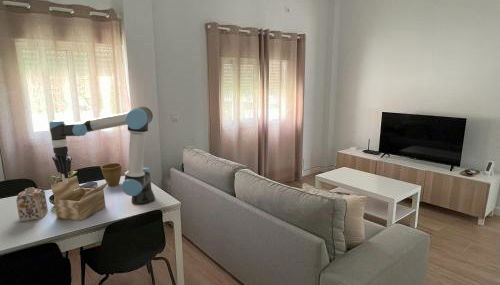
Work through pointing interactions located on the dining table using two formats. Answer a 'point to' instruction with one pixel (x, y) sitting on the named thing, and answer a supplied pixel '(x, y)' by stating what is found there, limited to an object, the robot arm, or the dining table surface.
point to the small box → (89, 185)
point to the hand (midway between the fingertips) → (65, 183)
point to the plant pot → (112, 173)
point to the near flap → (94, 191)
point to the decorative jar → (31, 204)
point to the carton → (79, 204)
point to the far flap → (65, 187)
